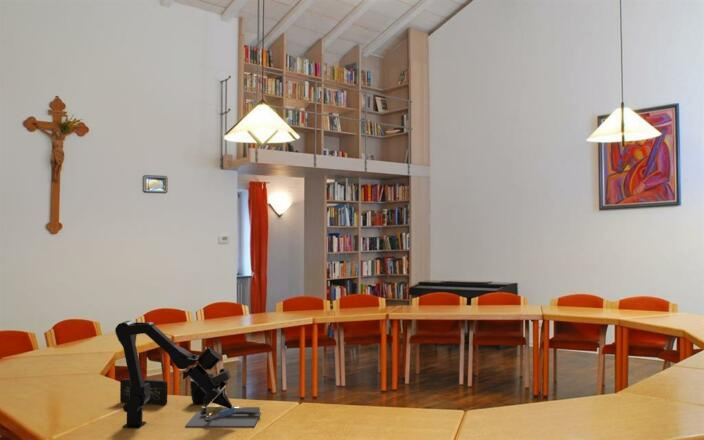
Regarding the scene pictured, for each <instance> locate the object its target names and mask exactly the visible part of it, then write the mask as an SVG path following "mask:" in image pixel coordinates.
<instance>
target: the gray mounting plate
mask: <svg viewBox="0 0 704 440" xmlns="http://www.w3.org/2000/svg"><path fill="white" fill-rule="evenodd" d="M261 415H262V412H261V411H260V414H255V416H254V417H248V414H233V415H232V417H225V416H224V417H221V418H220V417H216V418H213V419H210V421H209V422H205V420H204V419H205V417H206V414H204V415H201V414H200V411H197V412H195V413H194V415H193V416H192V417H191V418H190V419H189V420H188V422H187V423H186V424H185V425H184V428H230V429H231V428H238V429H239V428H244V429H245V428H246V429H247V428H250V429H251V428H255V427H256V425H257V423H258V421H259V419H260V417H261Z"/></svg>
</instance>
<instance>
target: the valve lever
mask: <svg viewBox="0 0 704 440" xmlns="http://www.w3.org/2000/svg"><path fill="white" fill-rule="evenodd" d="M235 407H236V406H235V405H234V406H232V408H230V409H229V408H228V409H225V410H222V411H220V412H219V413H218V414H215V415H213V416H206V417H205V419H204V420H205V422H209V421H210V419H213V418H216V417H219V416H220V418H221V417H224V416H227V415H230V414H233V413H236V409H235Z"/></svg>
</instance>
